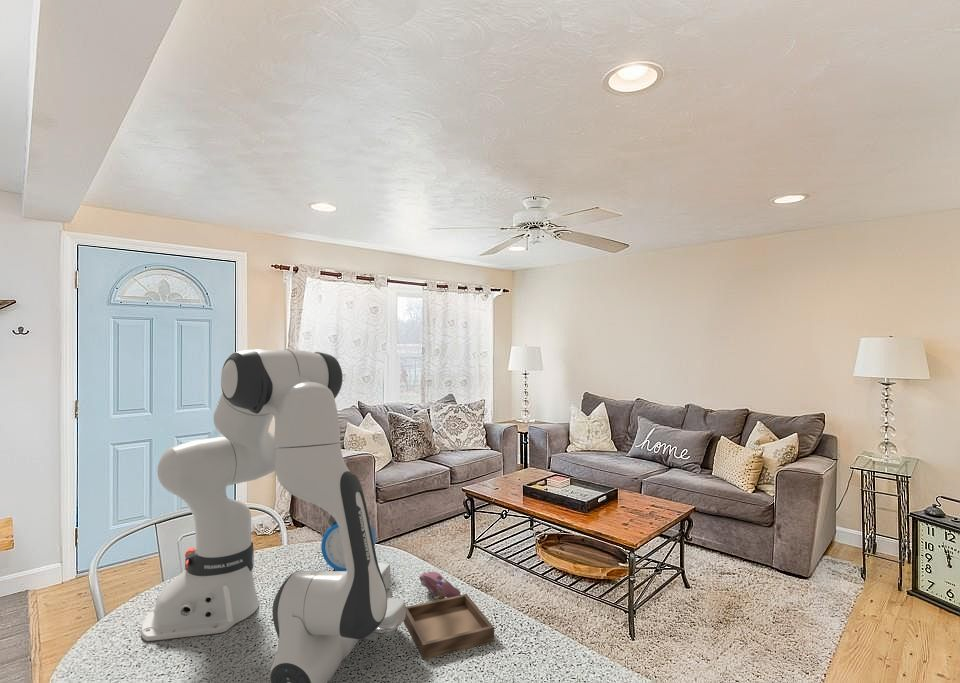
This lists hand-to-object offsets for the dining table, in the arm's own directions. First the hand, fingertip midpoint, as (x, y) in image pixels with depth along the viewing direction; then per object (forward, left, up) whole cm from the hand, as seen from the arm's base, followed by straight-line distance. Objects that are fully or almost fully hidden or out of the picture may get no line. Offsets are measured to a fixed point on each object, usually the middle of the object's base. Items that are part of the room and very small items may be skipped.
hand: (369, 591), depth 107 cm
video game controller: (+18, +7, -8) cm, 21 cm away
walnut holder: (+14, -8, -8) cm, 18 cm away
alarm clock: (0, +30, -8) cm, 31 cm away
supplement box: (-1, -1, -8) cm, 8 cm away
